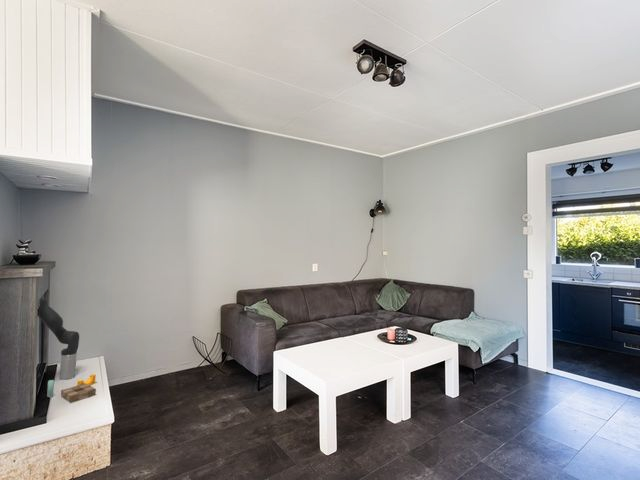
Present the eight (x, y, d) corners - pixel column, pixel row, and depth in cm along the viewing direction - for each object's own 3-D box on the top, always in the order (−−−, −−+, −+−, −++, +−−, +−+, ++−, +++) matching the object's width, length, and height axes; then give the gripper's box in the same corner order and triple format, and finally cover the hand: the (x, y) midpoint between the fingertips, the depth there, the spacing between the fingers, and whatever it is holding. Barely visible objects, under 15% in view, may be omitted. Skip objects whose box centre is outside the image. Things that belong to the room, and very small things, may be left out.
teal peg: (46, 396, 214) (47, 381, 214) (51, 395, 217) (52, 379, 217) (48, 398, 213) (49, 382, 213) (53, 396, 215) (54, 380, 215)
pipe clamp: (89, 382, 237) (90, 373, 237) (95, 383, 237) (95, 374, 237) (74, 390, 225) (75, 380, 225) (80, 391, 225) (80, 381, 225)
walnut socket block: (60, 396, 215) (61, 390, 215) (85, 389, 227) (85, 383, 227) (70, 403, 208) (71, 396, 208) (95, 395, 220) (95, 389, 220)
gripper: (15, 361, 202) (37, 378, 207) (25, 354, 215) (46, 370, 220) (3, 371, 200) (26, 388, 204) (14, 363, 213) (35, 379, 218)
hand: (36, 379), depth 212 cm, fingers open, 8 cm apart
